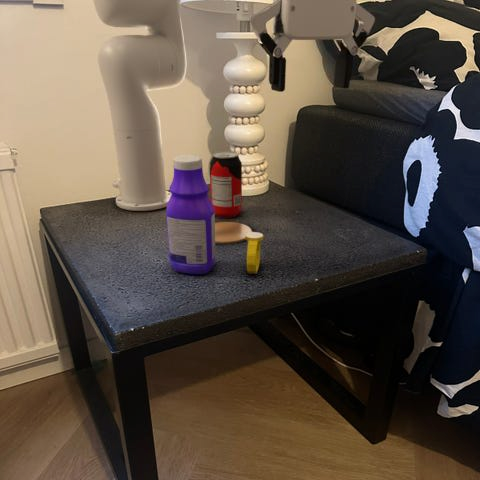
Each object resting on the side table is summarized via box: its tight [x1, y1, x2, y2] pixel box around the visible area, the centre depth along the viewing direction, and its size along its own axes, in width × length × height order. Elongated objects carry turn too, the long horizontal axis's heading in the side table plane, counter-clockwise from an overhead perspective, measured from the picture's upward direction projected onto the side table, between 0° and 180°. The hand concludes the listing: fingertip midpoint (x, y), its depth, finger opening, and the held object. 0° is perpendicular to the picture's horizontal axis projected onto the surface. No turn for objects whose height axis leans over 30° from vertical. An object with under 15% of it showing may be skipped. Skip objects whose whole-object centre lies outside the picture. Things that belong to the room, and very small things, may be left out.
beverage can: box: [209, 150, 243, 219], centre depth 95 cm, size 6×6×12 cm
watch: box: [245, 231, 264, 275], centre depth 74 cm, size 6×3×6 cm, turn 171°
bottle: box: [165, 154, 216, 275], centre depth 72 cm, size 7×6×17 cm
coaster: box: [215, 221, 253, 245], centre depth 89 cm, size 10×10×1 cm
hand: (310, 89), depth 65 cm, fingers open, 9 cm apart
